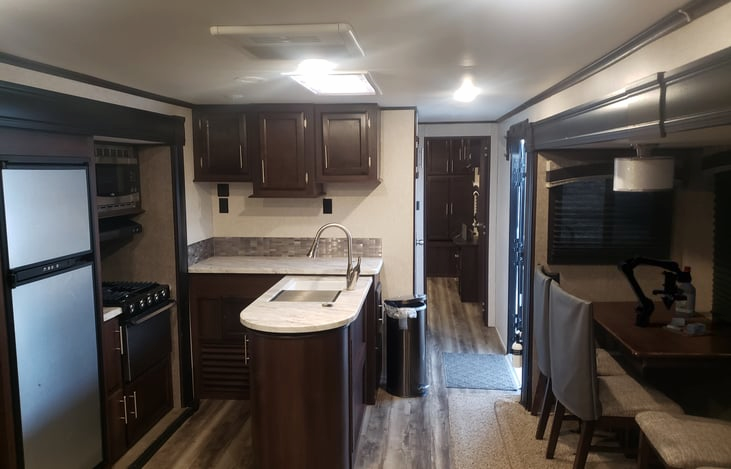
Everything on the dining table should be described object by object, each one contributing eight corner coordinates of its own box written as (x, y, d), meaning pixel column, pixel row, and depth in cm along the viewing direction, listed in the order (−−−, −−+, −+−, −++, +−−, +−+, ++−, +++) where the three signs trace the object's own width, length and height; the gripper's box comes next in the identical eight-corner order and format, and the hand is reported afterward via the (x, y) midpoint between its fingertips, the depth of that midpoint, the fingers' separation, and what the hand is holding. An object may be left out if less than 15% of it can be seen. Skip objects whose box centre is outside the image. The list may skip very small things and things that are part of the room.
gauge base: (687, 337, 278) (688, 326, 278) (662, 328, 294) (663, 319, 293) (708, 334, 282) (708, 324, 282) (682, 326, 298) (682, 317, 297)
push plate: (670, 327, 290) (671, 320, 290) (666, 326, 293) (666, 318, 293) (684, 325, 293) (684, 318, 292) (679, 324, 296) (680, 317, 295)
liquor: (678, 312, 329) (681, 265, 326) (695, 315, 322) (698, 266, 319) (674, 315, 322) (676, 266, 319) (691, 318, 316) (694, 268, 313)
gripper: (695, 285, 291) (694, 312, 292) (667, 279, 308) (666, 305, 310) (680, 286, 287) (678, 314, 289) (652, 280, 305) (650, 306, 307)
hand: (668, 310), depth 299 cm, fingers closed
